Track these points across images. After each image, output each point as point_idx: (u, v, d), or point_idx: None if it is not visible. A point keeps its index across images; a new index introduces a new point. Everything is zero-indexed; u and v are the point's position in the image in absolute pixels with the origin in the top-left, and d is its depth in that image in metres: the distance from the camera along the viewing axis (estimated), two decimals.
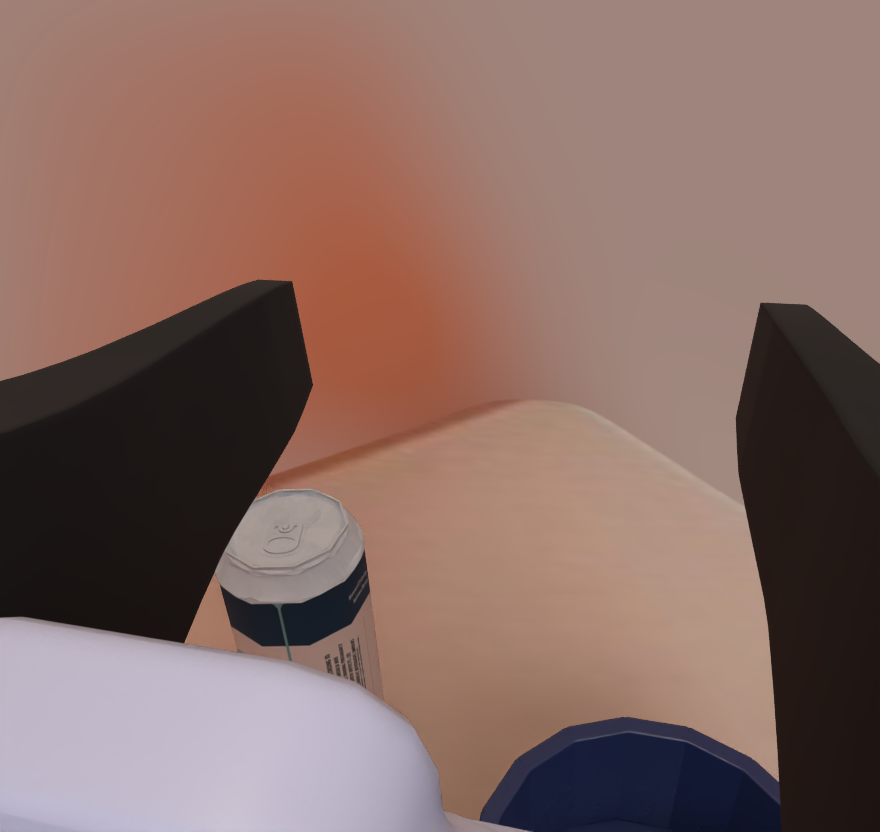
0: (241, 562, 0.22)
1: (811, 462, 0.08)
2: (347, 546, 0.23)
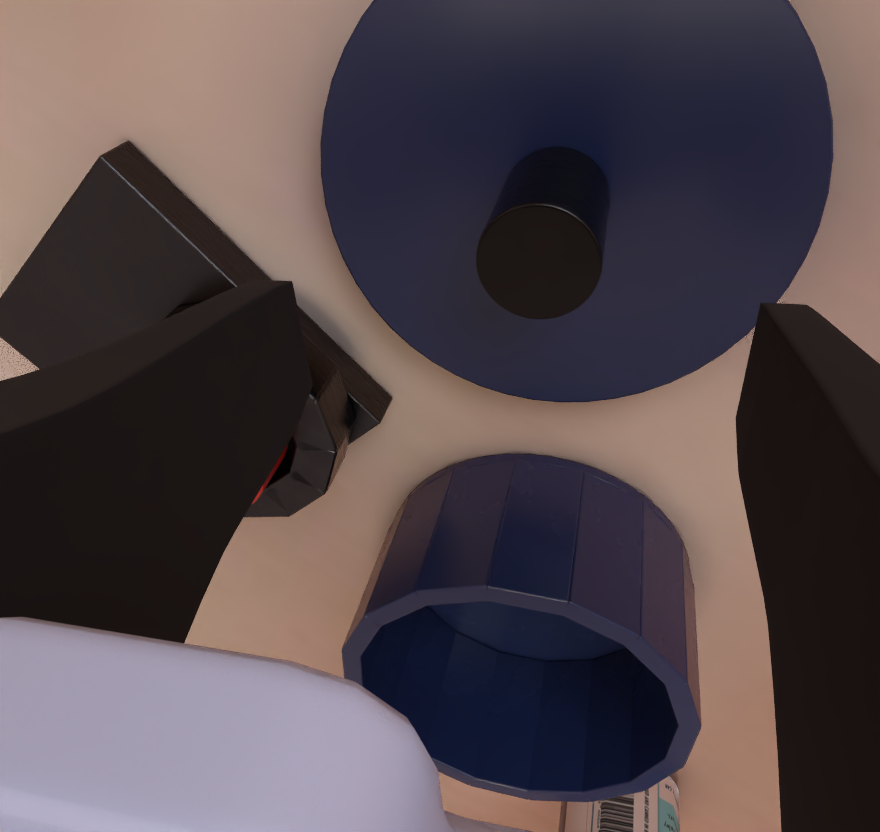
0: None
1: (811, 462, 0.08)
2: None
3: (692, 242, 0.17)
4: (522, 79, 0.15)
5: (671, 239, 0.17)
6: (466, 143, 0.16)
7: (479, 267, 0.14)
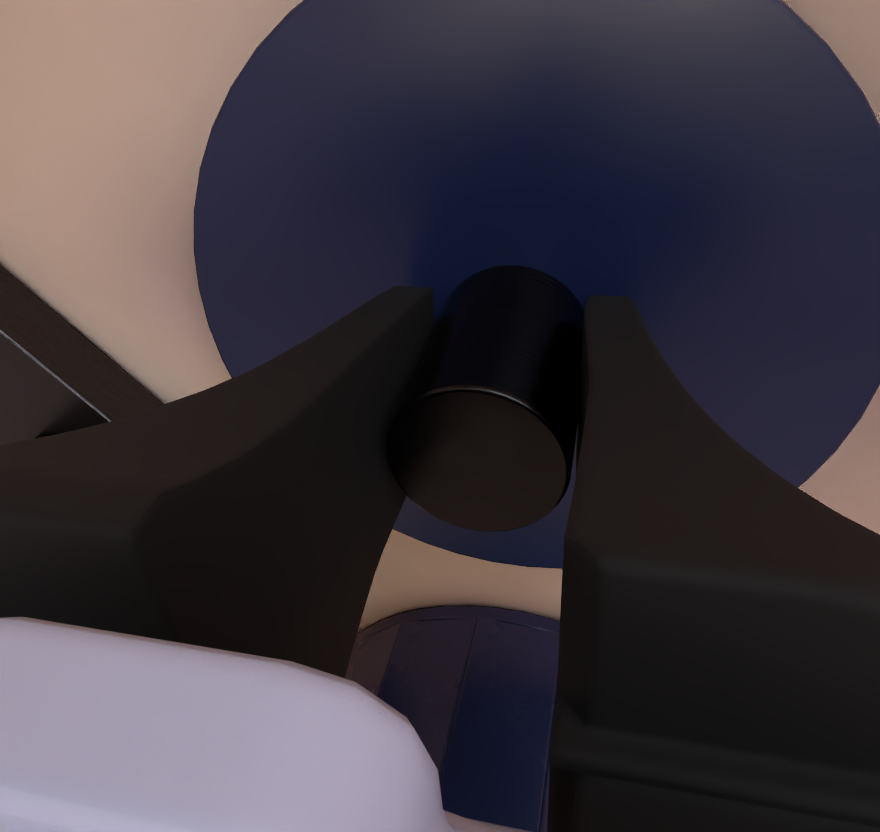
0: None
1: None
2: None
3: (703, 391, 0.12)
4: (461, 176, 0.11)
5: None
6: (388, 256, 0.12)
7: (391, 463, 0.10)
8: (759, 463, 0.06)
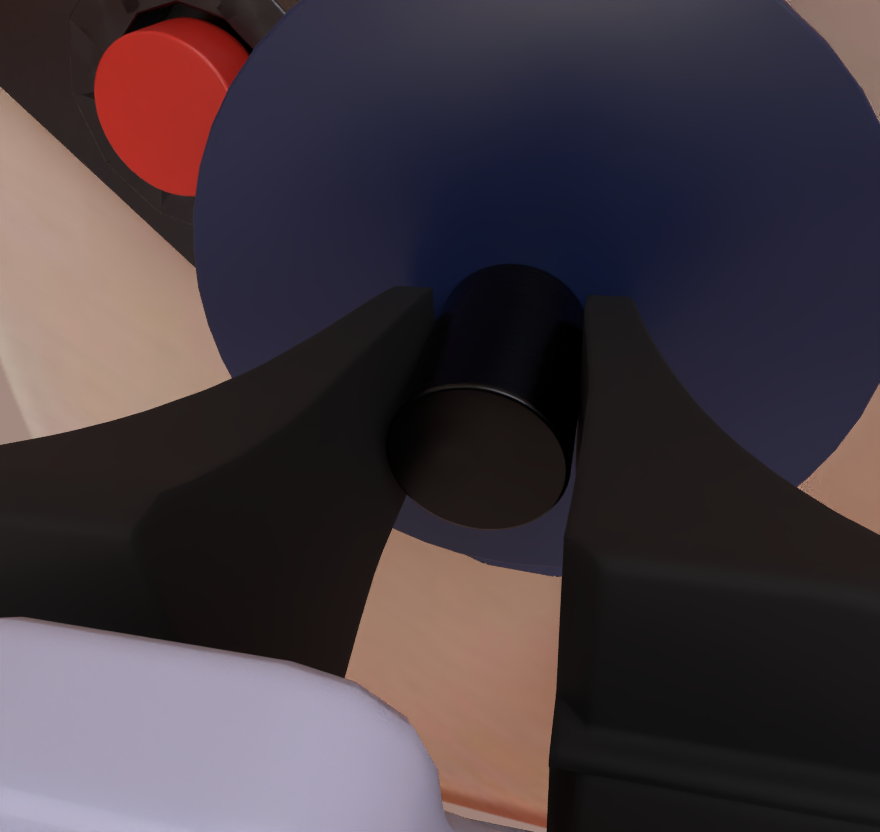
0: None
1: None
2: None
3: (702, 390, 0.12)
4: (460, 174, 0.11)
5: None
6: (387, 255, 0.12)
7: (391, 462, 0.10)
8: (759, 463, 0.06)
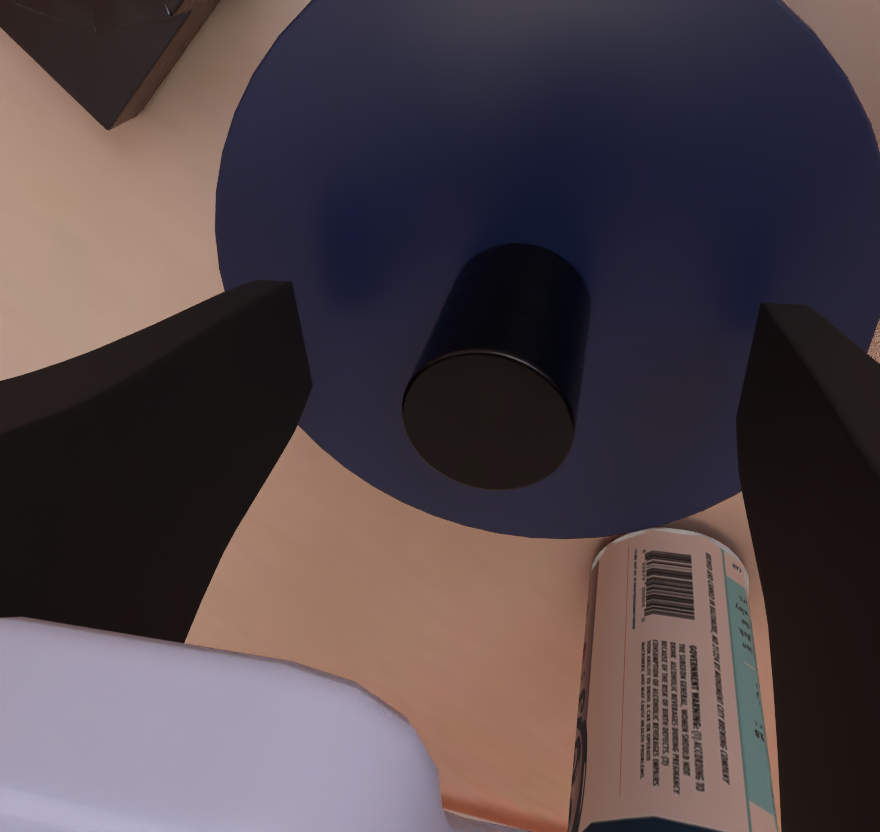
0: None
1: (811, 462, 0.08)
2: None
3: (698, 364, 0.13)
4: (470, 157, 0.11)
5: (671, 359, 0.13)
6: (400, 235, 0.12)
7: (406, 425, 0.10)
8: None
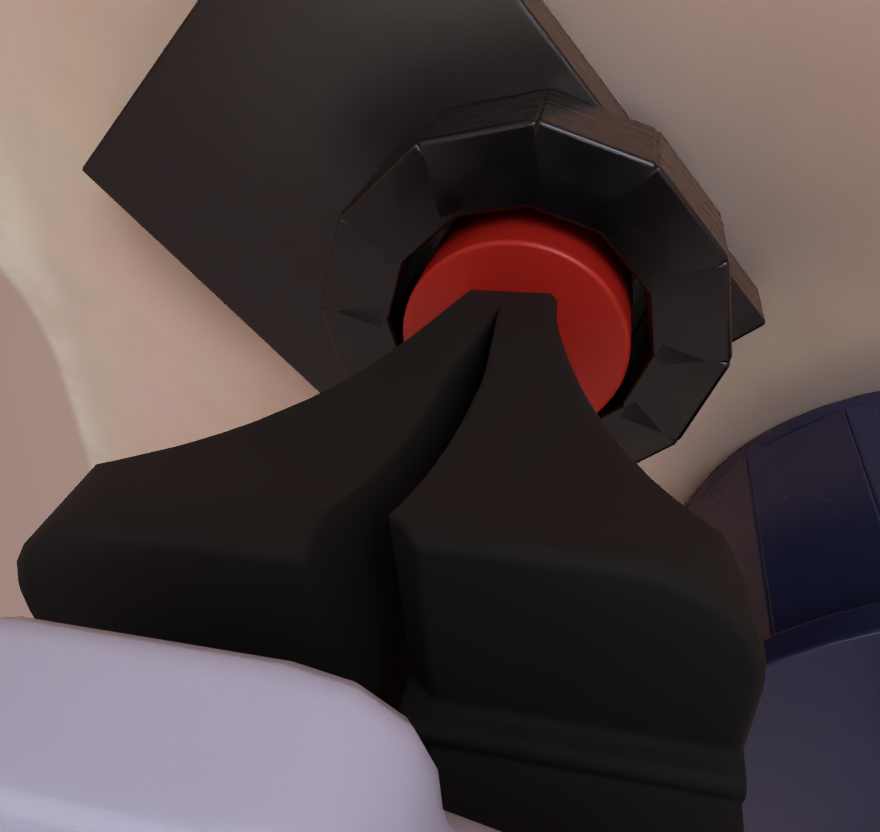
0: None
1: None
2: None
3: None
4: None
5: None
6: None
7: None
8: (619, 450, 0.06)
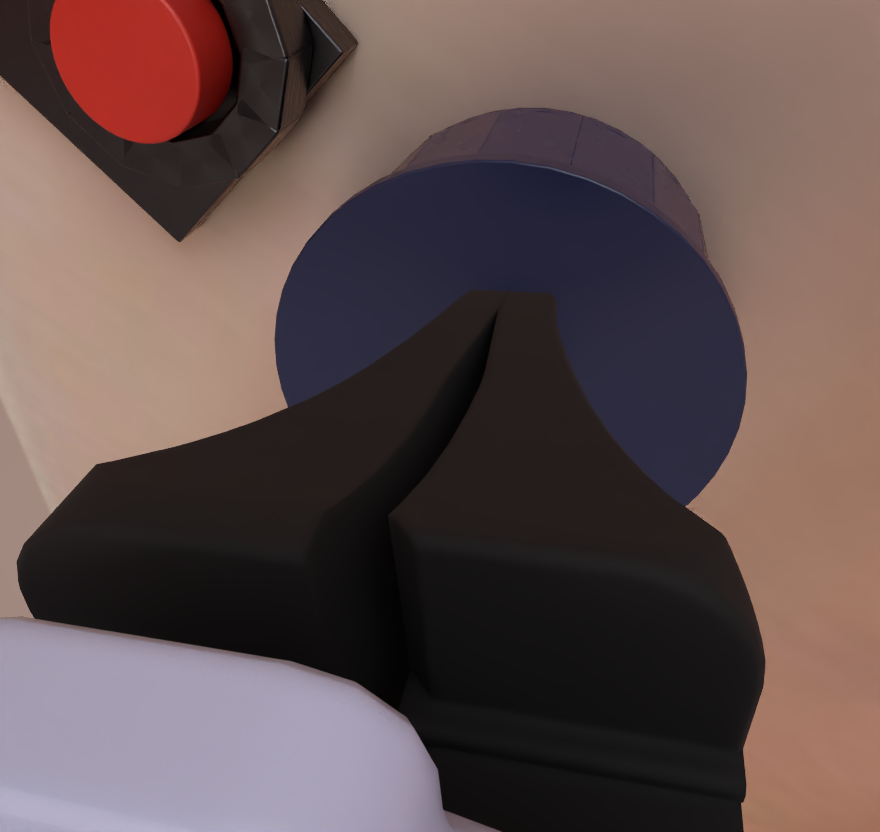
0: None
1: None
2: None
3: (623, 436, 0.18)
4: None
5: None
6: None
7: None
8: (619, 450, 0.06)
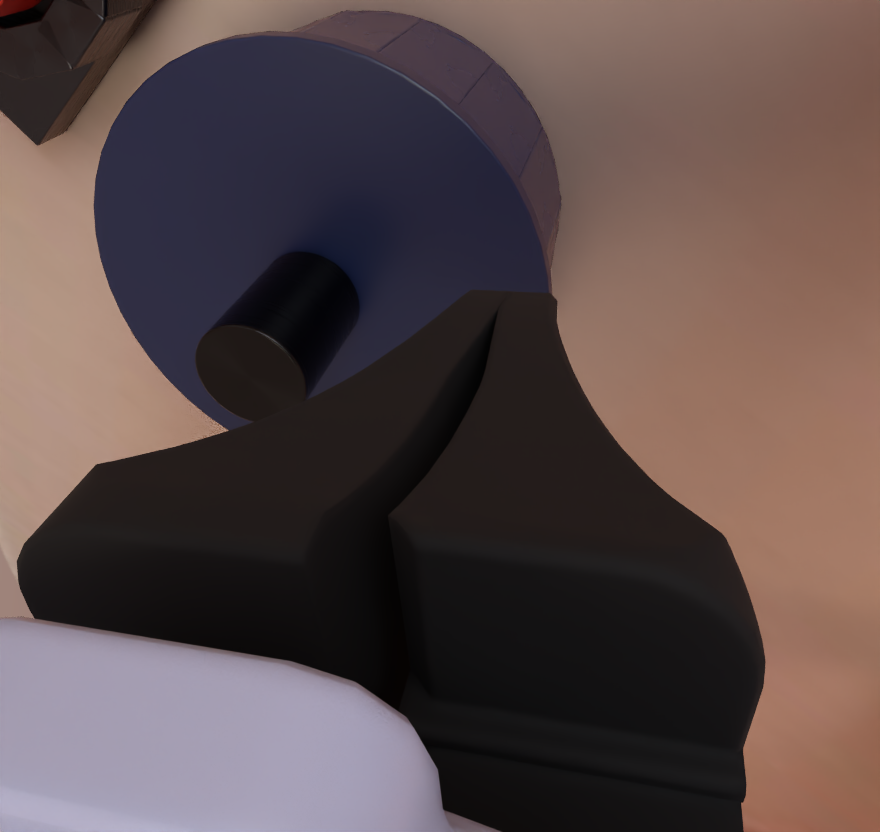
0: None
1: None
2: None
3: None
4: (263, 190, 0.16)
5: None
6: (224, 243, 0.17)
7: (199, 376, 0.15)
8: (618, 450, 0.06)
